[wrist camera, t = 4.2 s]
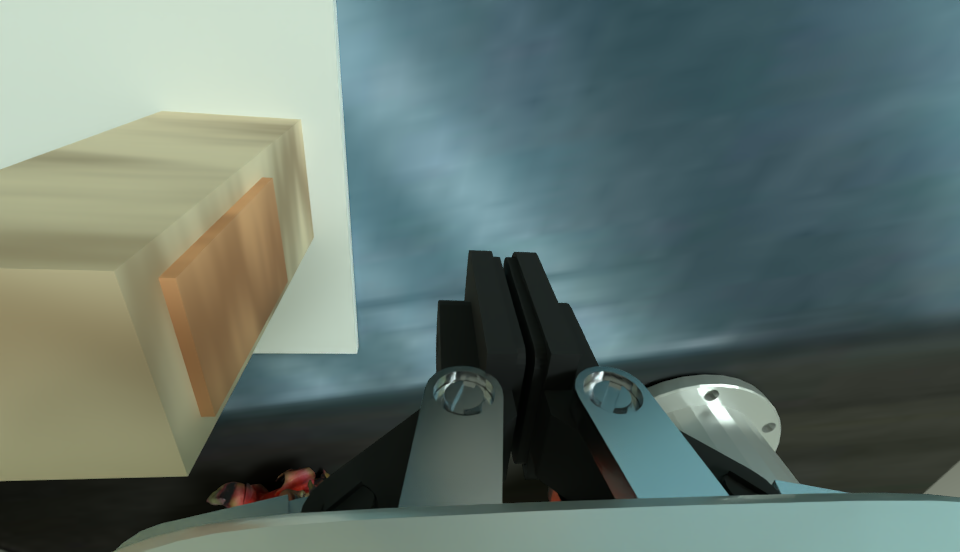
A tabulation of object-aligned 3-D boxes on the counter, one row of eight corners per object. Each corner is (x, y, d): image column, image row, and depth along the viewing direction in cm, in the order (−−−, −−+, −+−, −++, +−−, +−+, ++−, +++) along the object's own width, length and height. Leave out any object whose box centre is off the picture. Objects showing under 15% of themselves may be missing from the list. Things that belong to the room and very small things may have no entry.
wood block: (321, 237, 20) (202, 476, 10) (192, 233, 20) (-80, 483, 9) (309, 119, 18) (134, 271, 7) (161, 111, 17) (-257, 262, 7)
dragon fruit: (245, 525, 33) (324, 402, 30) (325, 618, 31) (417, 495, 28) (116, 610, 25) (207, 454, 22) (212, 744, 23) (326, 589, 20)
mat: (358, 346, 24) (356, 353, 23) (-75, 343, 22) (-88, 352, 21) (330, -85, 15) (326, -89, 15) (-406, -168, 13) (-442, -176, 12)
